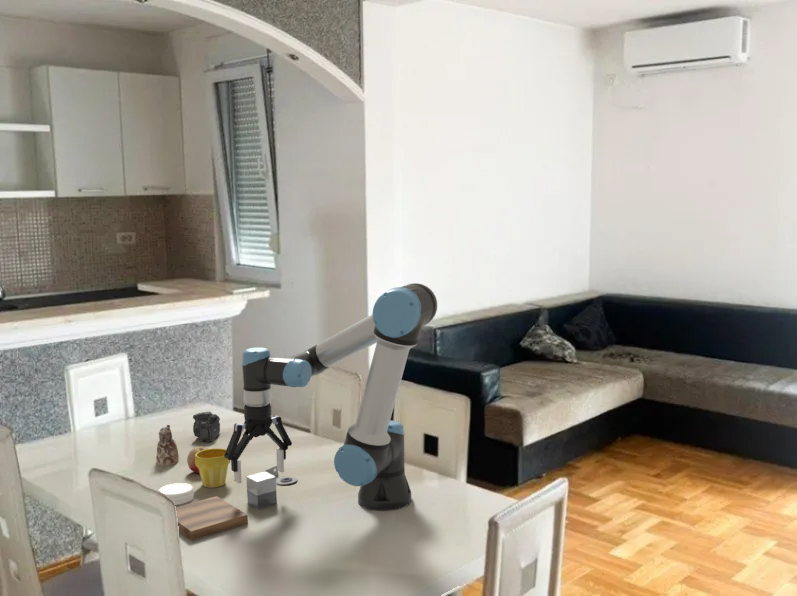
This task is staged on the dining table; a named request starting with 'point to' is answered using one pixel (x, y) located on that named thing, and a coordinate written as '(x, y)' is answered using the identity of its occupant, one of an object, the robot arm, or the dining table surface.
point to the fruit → (192, 458)
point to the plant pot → (212, 466)
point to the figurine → (166, 448)
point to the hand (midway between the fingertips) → (259, 476)
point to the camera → (206, 426)
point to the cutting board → (208, 517)
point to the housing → (261, 490)
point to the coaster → (178, 492)
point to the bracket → (283, 479)
